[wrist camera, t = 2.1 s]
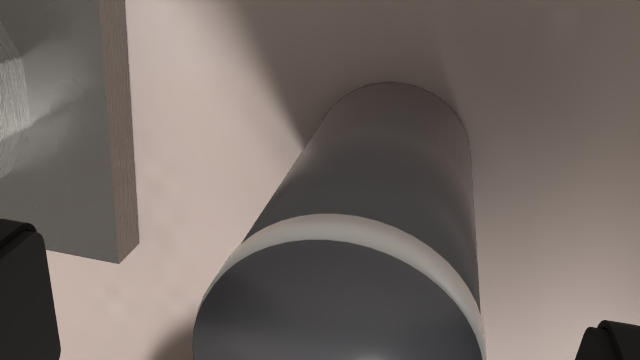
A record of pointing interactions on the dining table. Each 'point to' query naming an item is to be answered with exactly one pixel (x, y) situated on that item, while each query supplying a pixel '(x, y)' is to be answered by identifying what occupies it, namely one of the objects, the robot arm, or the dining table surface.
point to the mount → (68, 125)
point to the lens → (359, 245)
